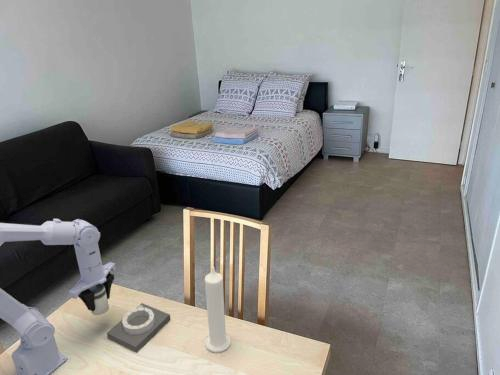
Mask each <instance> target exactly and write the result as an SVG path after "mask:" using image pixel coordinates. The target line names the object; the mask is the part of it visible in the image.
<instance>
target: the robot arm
mask: <svg viewBox="0 0 500 375" xmlns="http://www.w3.org/2000/svg"><path fill="white" fill-rule="evenodd" d="M52 219H53V220H46V221H45V222H43V223H42V224H41V225H35V224H22V223H20V224H19V223H5V222H0V247H1V246H2V245H3V244H4V243H6V242H24V241H25V242H28V241H41V243H42V244H43V245H45V246H57V245H58V246H60V245H62V246H63V245H64V246H65V245H66V246H67V245H68V246H71V245H73V247H74V252H75V255H76V256H75V257H76V261H77V265H78V269H79V273H80V279H79V280H78V281H77V282H76V284H75V285H74V286H73V287H72V288H71V289H69V291H68V294H69V298H72V299H74V300H76V299H80V300H81V301H82V303H84V305H85V306H86V309H87V310H88V311H90V312H91V311H94V310H95V303H94V294H95V292H92V291H90V289H89V288H90V287H92V286H95V285H97V284H103V285H104V286H105V288H106V294H107V299H108V300H109V299H110V298H111V297H110V296H111V289H112V284H113V282H114V280H115V274H113V273H111V272H112V271H115V270H116V269H117V267H116V263H115V262H111V261H109V262H108V263H106V264H103V262H102V256H101V252H100V248H99V241H100V238H101V232H99V230H98V227H96V226H95V225H93V224H91V223H90V222H88V221H86V220H83V219H80V218H77V219H75V220H73V221H62V220H61V219H59V218H52ZM0 319H1V320H2V321H4V322H6V323H8V325H9V326H11V327H13V329H15V330H16V331H17V332H18V333H19V334H20V341H19V342H20V343H19V345H18V346H17V348H16V349H15V350H14V351H12V353H11V358H12V362H13V364H14V367H15V370H16V371H15V374H16V375H51V373H53V372H54V371H55V370H56V369H57V368H59V367H60V366H61V365H62V364H64V363H65V362H66V361H67V360H68V359H69V358H68V356H67V355H66V354H64V353H61V352H60V351H59V349H58V345H57V342H56V338H55V331H56V329H55V326H54V324H53V323H51V322H50V321H49V320H48V319H47V318H46V317H45V316H44V315H43V314H42V313H41V311H40V310H39V309H38V308H37V307H31V306H27V305H26V304H24V303H21V301H18V300H17V299H15V298H14V297H13V296H12V295H10V293H7V292H6V291H5V290H4V289H2V288H1V287H0Z"/></svg>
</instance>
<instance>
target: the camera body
mask: <svg viewBox="0 0 500 375" xmlns="http://www.w3.org/2000/svg"><path fill="white" fill-rule="evenodd" d="M170 321H171V314H170V313H168V312H165V311H163V310H160V309H158V308H155V307H153V306H150V305H148V304H145V303H143V302H142V303H140V304H139V305H138V306H136V307H135V308H134V309H131V310H129V311H128V312H127V313H125V314H124V315H123V318H122V319H121V320H120V321H119V322H118V323H116V324H115V325H114V326H113V327H111V329H109V330H108V331H107V332H106V336H107V339H108V340H110V341H113V342H114V343H117V344H119V345H120V346H123V347H125V348H126V349H128V350H130V351H133V352H135V353H138V352H139V351H140V350H142V348H143V347H145V345H147V343H148V342H150V341H151V339H153V338H154V336H156V334H158V333H159V332H160V331H161V330H162V329H163V328H164V327H165V326H166V324H168V323H169V322H170Z"/></svg>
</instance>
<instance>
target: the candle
mask: <svg viewBox="0 0 500 375" xmlns="http://www.w3.org/2000/svg"><path fill="white" fill-rule="evenodd" d="M210 269H211V270H210V273H208V274H206V275H205V277H204V286H205V300H206V313H207V324H208V325H207V326H208V335H207V337H206V338H205V340H204V345H205V346H204V347H205V348H206V349H207V350H208V352H211V353H216V354H217V353H220V354H221V353H223V352H225V351H227V350H228V349H229V348H230V346H231V345H232V344H231V343H232V342H231V337H230V335H229V334H228V333H226V315H225V298H224V297H225V296H224V281H223V275H222V274H221V273H219V272H216V269H215V267H214V266H212V267H211V268H210Z"/></svg>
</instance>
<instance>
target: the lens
mask: <svg viewBox="0 0 500 375" xmlns="http://www.w3.org/2000/svg"><path fill="white" fill-rule="evenodd" d="M89 289H90V291H92V292H95V294H94V303H95V310H94V311H90V313H91V315H93V316H100V315H103V314H105V313H107V312H108V311H109V309H110V304H109V299H107V294H106V288H105V286H104V285H103V284H97V285H95V286H92V287H90V288H89Z"/></svg>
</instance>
